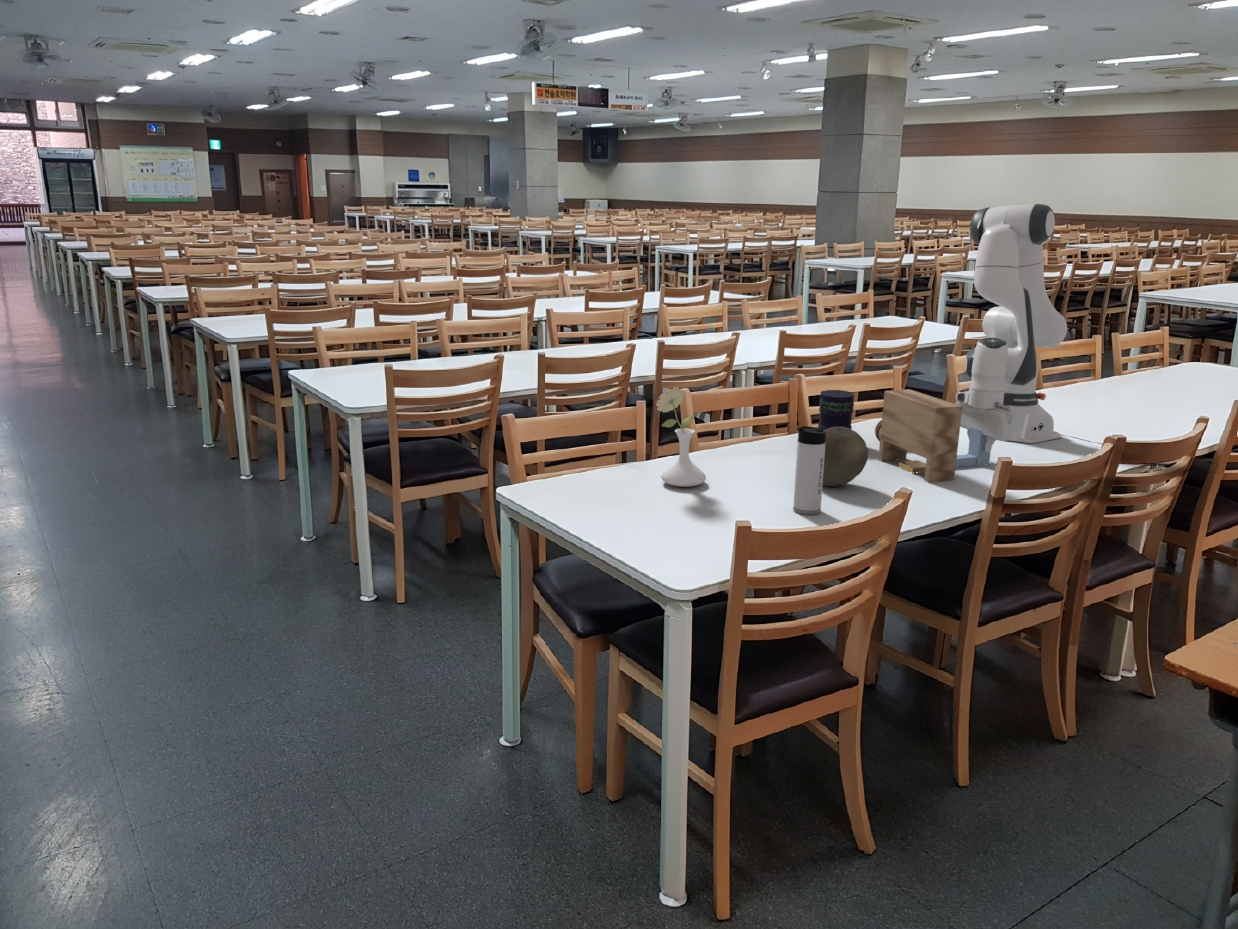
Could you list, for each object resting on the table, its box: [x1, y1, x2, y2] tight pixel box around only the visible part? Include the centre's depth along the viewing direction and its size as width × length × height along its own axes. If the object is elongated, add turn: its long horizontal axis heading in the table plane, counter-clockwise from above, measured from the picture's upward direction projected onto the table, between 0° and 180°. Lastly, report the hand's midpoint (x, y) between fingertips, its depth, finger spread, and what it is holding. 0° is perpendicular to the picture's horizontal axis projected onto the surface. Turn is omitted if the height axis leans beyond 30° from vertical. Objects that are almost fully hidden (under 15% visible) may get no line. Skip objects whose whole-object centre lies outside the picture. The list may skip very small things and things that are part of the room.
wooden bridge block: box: [877, 389, 962, 483], centre depth 245 cm, size 8×22×20 cm, turn 19°
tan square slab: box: [898, 459, 926, 474], centre depth 248 cm, size 6×6×2 cm
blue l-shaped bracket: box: [955, 427, 992, 468], centre depth 251 cm, size 16×4×10 cm, turn 109°
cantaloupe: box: [822, 427, 869, 488], centre depth 232 cm, size 14×14×15 cm
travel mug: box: [792, 425, 826, 516], centre depth 212 cm, size 6×7×20 cm
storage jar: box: [817, 389, 855, 431], centre depth 272 cm, size 10×10×15 cm
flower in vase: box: [655, 386, 707, 488], centre depth 230 cm, size 13×11×25 cm
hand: (979, 448), depth 253 cm, fingers closed on blue l-shaped bracket, 4 cm apart
